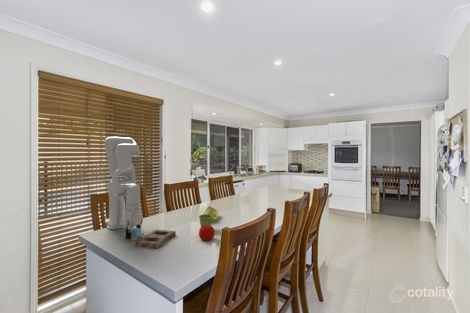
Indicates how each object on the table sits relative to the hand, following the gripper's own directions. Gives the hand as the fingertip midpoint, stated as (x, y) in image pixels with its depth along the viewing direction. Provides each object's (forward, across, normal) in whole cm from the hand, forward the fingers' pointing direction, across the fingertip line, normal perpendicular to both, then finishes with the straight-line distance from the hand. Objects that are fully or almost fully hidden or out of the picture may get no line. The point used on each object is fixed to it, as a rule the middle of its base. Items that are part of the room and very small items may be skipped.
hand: (133, 236), depth 137 cm
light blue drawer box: (+1, 0, 0) cm, 1 cm away
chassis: (+1, 0, +15) cm, 15 cm away
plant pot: (+1, -24, +36) cm, 43 cm away
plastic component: (+2, -46, +31) cm, 56 cm away
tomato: (+2, -8, +42) cm, 43 cm away
